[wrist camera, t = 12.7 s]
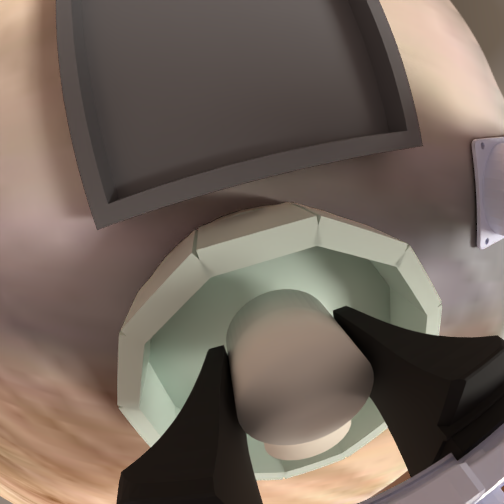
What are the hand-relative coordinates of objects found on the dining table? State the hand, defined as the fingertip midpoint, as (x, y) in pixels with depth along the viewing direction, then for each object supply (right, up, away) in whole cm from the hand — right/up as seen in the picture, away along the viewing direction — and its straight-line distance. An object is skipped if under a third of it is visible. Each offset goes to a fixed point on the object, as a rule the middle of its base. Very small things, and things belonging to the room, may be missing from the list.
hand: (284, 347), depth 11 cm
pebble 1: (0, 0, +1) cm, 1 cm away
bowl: (0, -1, +5) cm, 5 cm away
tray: (-3, +15, -1) cm, 15 cm away
